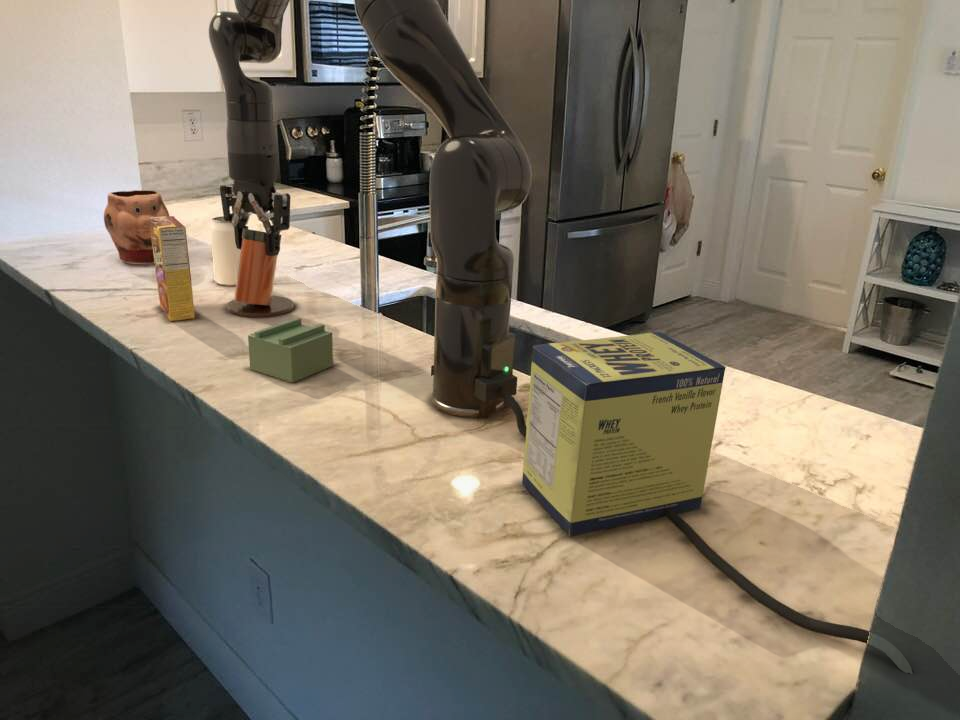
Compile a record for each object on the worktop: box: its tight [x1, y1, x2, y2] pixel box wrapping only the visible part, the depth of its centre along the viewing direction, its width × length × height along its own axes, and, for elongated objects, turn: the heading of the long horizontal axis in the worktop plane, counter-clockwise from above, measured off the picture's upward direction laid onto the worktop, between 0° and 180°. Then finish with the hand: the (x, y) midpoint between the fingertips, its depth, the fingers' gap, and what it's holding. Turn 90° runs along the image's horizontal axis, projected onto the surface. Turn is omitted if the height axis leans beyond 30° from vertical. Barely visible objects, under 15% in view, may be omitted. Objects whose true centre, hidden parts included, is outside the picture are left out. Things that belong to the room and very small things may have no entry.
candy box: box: [149, 215, 196, 322], centre depth 123 cm, size 9×4×15 cm, turn 31°
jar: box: [233, 228, 283, 305], centre depth 128 cm, size 12×6×6 cm
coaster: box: [226, 294, 294, 318], centre depth 131 cm, size 11×11×1 cm
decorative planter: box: [103, 189, 170, 265], centre depth 155 cm, size 20×12×14 cm, turn 43°
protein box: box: [521, 331, 726, 537], centre depth 75 cm, size 10×16×16 cm
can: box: [210, 215, 247, 287], centre depth 143 cm, size 6×6×12 cm
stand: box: [247, 317, 334, 383], centre depth 105 cm, size 8×8×6 cm
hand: (257, 251), depth 128 cm, fingers closed on jar, 6 cm apart
